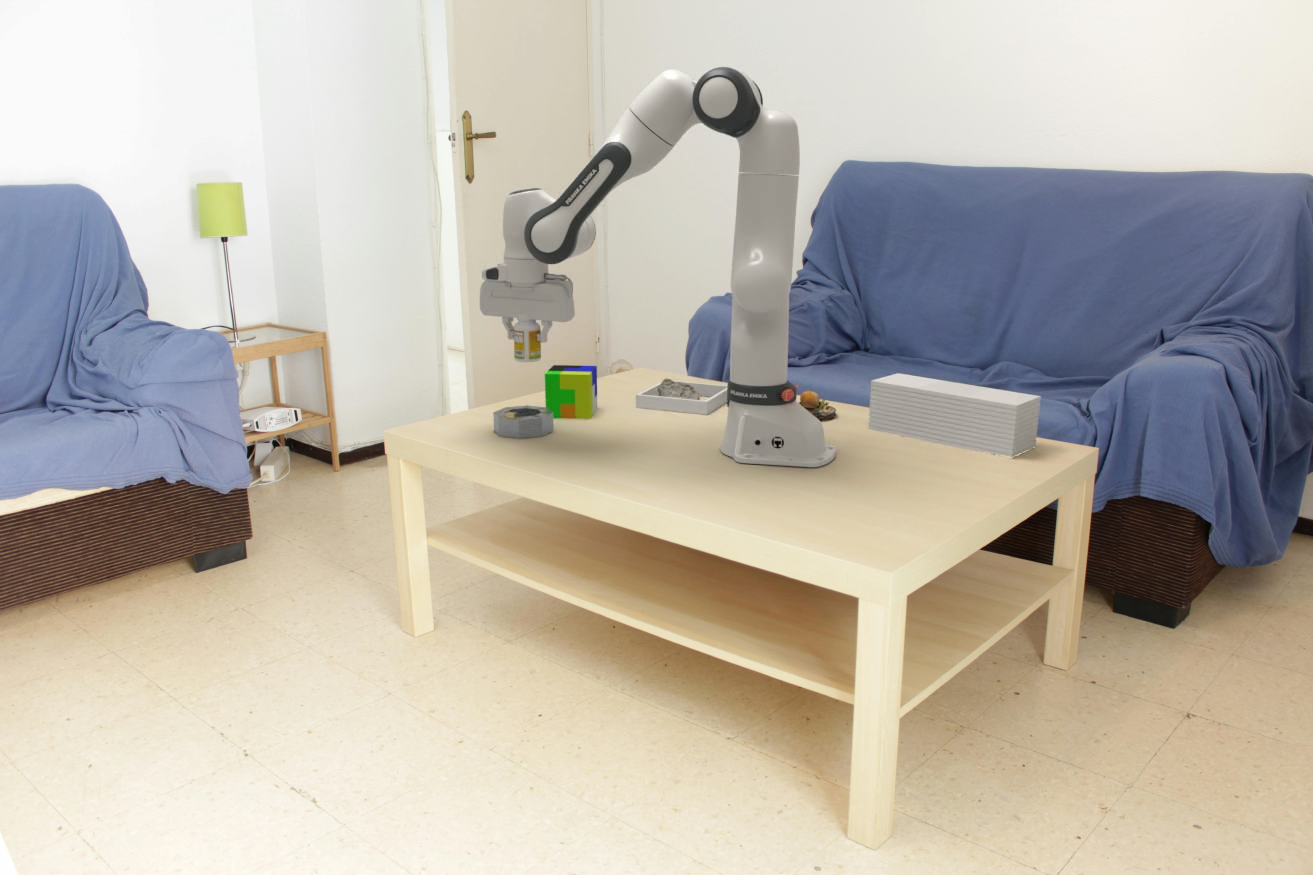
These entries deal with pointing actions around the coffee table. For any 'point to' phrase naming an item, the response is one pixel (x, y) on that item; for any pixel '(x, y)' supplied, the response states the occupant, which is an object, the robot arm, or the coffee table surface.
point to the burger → (817, 406)
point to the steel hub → (523, 421)
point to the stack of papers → (954, 414)
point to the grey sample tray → (654, 401)
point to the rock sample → (677, 390)
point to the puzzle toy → (571, 391)
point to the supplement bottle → (526, 340)
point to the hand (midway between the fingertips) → (527, 340)
